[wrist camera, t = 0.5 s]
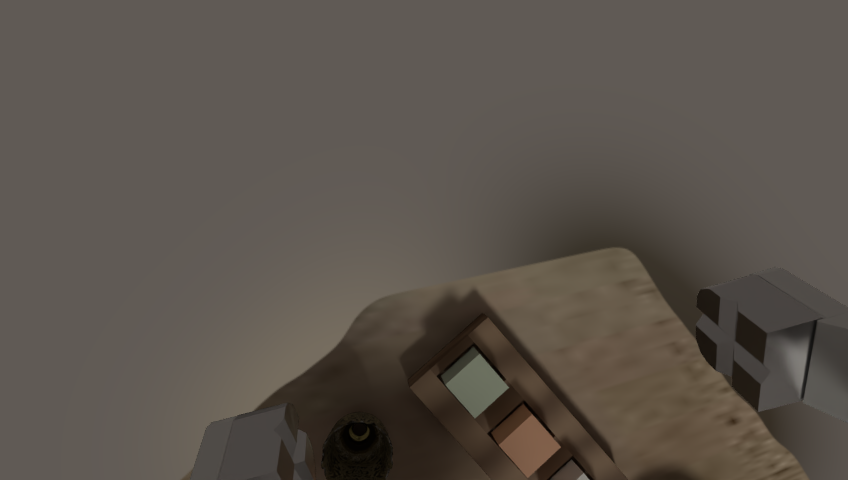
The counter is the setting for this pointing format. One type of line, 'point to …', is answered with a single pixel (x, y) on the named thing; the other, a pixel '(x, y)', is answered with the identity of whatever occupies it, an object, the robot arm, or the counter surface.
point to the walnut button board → (507, 409)
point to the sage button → (474, 382)
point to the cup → (357, 450)
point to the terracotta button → (525, 440)
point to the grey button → (570, 473)
